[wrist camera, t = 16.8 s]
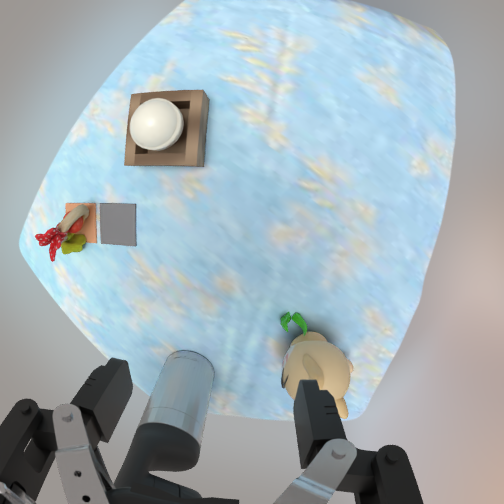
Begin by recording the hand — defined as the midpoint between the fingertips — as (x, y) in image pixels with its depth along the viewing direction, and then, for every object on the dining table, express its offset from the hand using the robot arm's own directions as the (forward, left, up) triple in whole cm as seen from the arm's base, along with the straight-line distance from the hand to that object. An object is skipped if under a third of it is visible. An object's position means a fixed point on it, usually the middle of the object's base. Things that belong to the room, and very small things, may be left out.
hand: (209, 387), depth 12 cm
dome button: (+15, +11, -27) cm, 33 cm away
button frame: (+15, +11, -30) cm, 35 cm away
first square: (+1, +20, -30) cm, 36 cm away
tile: (+1, +27, -30) cm, 40 cm away
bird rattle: (+1, +27, -30) cm, 40 cm away
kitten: (-17, -12, -30) cm, 37 cm away
